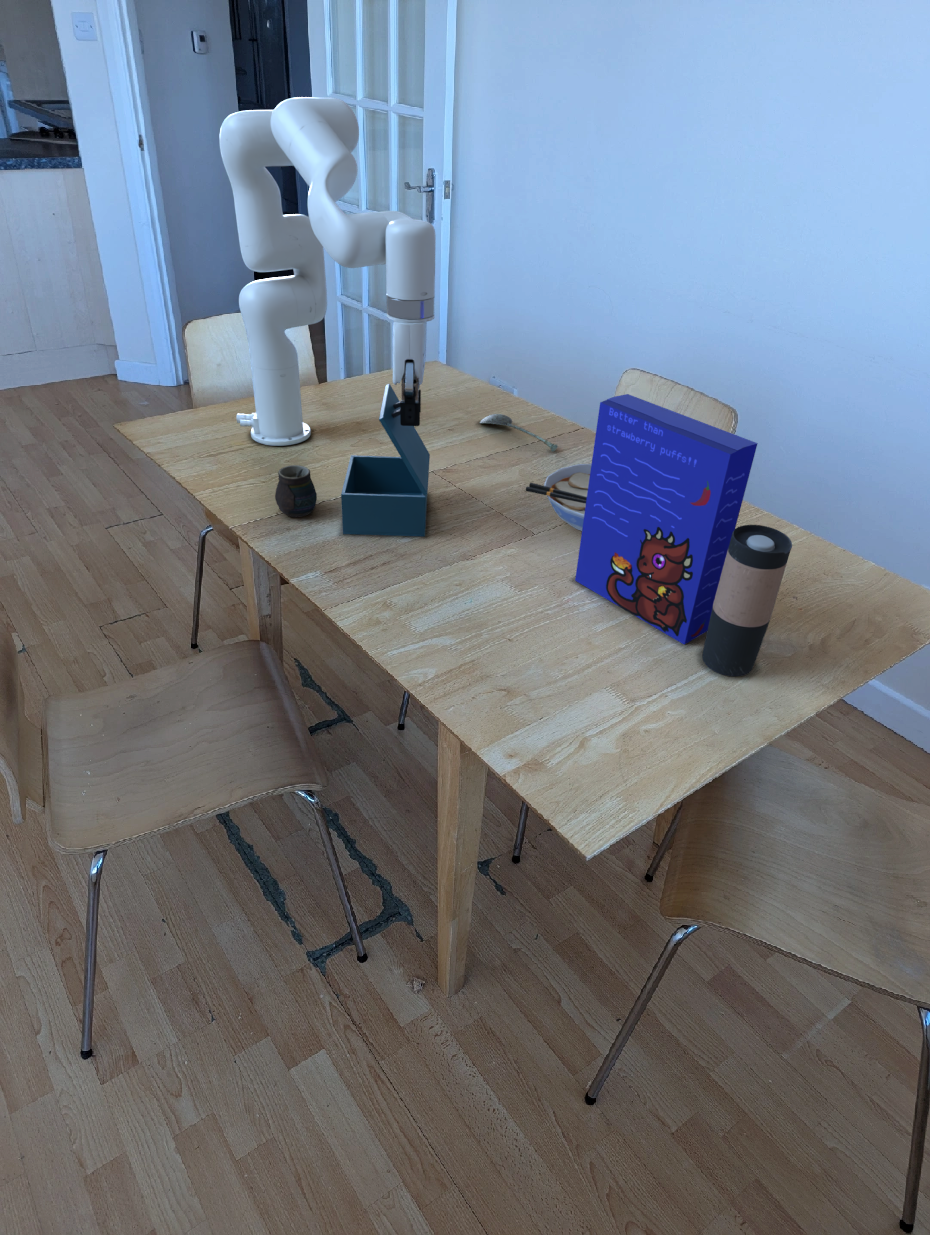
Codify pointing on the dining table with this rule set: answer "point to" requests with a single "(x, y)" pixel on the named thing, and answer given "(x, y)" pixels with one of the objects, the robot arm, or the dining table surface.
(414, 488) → the blue open rectangular box
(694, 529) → the cereal box
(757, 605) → the travel mug
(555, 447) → the soupspoon
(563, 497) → the ramen bowl
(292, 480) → the mate gourd
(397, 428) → the lid
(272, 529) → the dining table surface
